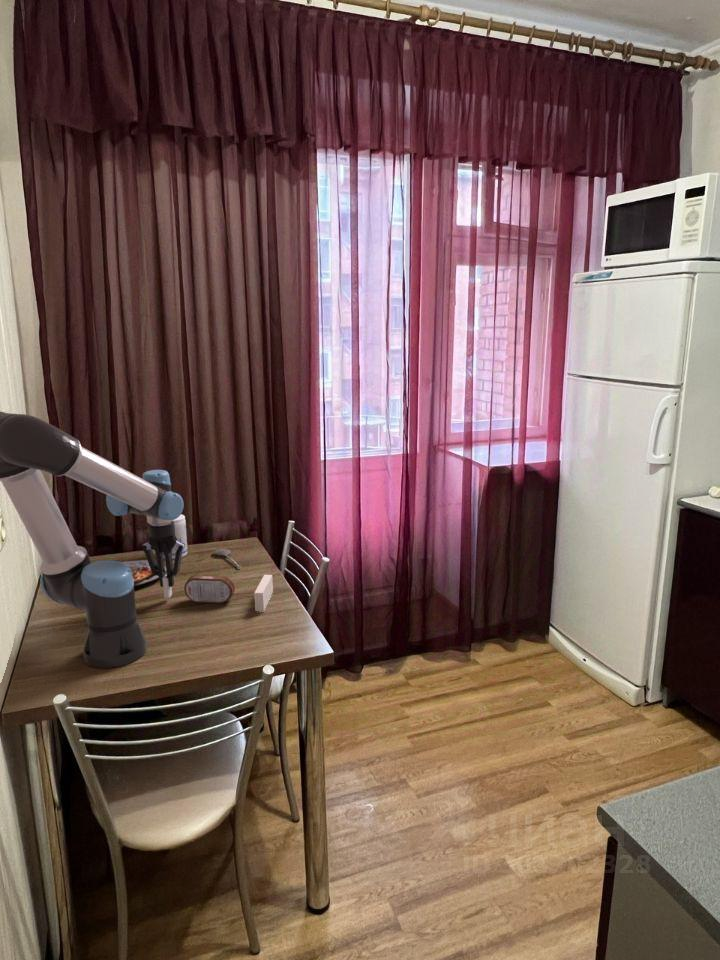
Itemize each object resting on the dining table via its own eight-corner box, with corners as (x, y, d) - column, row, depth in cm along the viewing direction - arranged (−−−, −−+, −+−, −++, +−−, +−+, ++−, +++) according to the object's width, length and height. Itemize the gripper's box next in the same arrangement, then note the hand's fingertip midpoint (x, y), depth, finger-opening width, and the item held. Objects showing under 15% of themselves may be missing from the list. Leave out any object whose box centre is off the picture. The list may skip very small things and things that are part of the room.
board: (263, 612, 184) (262, 593, 183) (255, 612, 184) (254, 593, 183) (273, 592, 198) (272, 574, 196) (265, 592, 198) (264, 574, 197)
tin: (235, 600, 193) (234, 574, 191) (232, 604, 190) (230, 578, 188) (187, 599, 194) (185, 573, 192) (184, 603, 191) (181, 577, 189)
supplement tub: (163, 561, 226) (160, 522, 223) (158, 554, 234) (154, 515, 231) (190, 557, 231) (187, 518, 227) (184, 549, 239) (181, 512, 235)
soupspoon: (227, 552, 238) (210, 557, 235) (226, 544, 237) (209, 548, 234) (248, 568, 219) (230, 573, 216) (247, 559, 218) (229, 564, 215)
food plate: (181, 574, 214) (180, 564, 213) (122, 599, 195) (121, 588, 195) (134, 562, 228) (132, 553, 227) (75, 584, 209) (73, 574, 208)
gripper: (186, 518, 190) (193, 591, 196) (144, 518, 191) (152, 590, 197) (178, 526, 183) (185, 601, 189) (134, 526, 184) (142, 601, 190)
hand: (168, 596), depth 193 cm, fingers closed
